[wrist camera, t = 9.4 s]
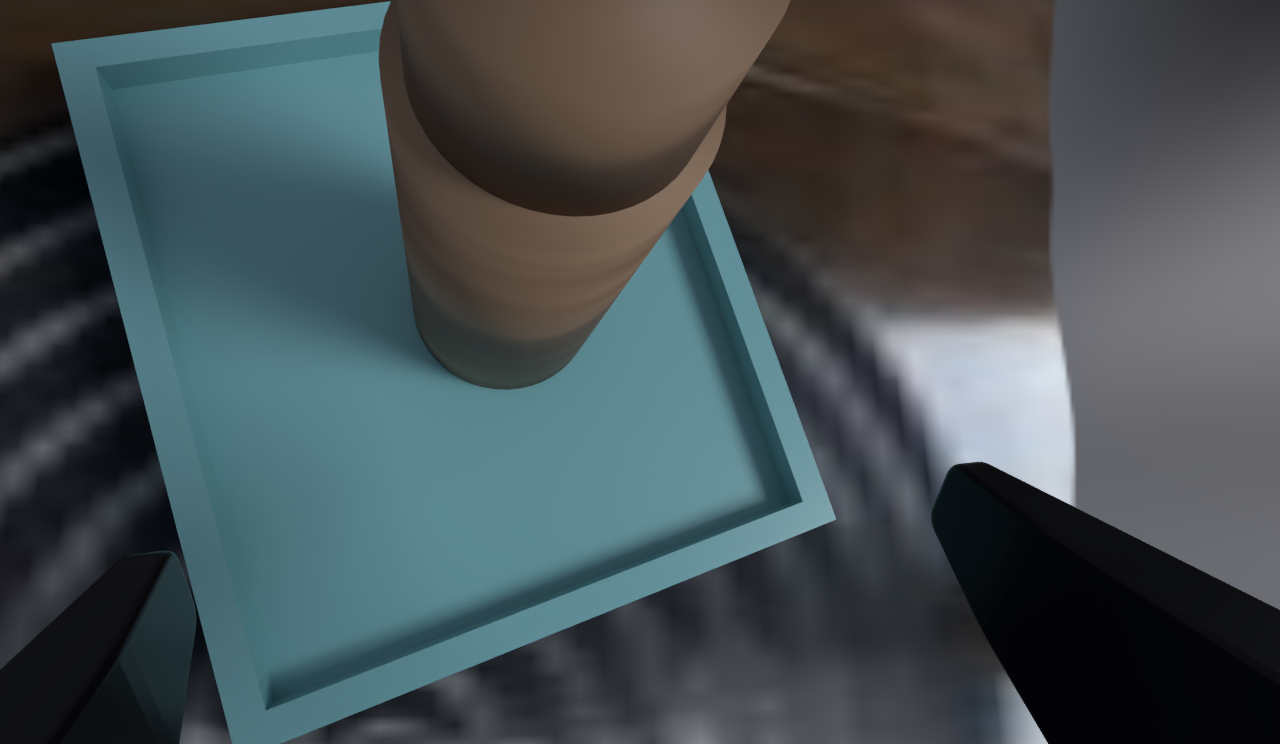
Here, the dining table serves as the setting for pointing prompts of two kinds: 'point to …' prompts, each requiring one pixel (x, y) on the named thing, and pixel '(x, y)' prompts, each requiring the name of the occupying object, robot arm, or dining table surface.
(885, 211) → the dining table surface
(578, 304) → the pepper mill
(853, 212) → the dining table surface
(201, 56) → the teal tray
